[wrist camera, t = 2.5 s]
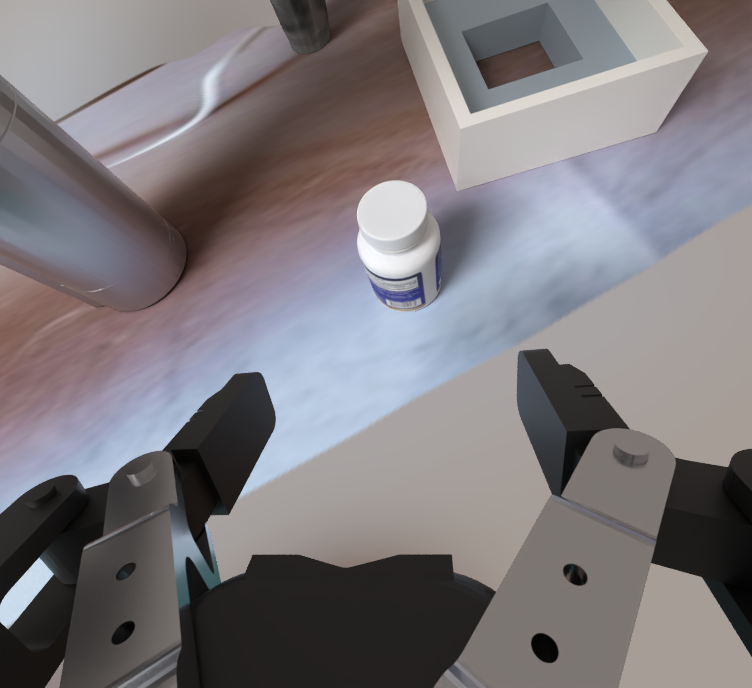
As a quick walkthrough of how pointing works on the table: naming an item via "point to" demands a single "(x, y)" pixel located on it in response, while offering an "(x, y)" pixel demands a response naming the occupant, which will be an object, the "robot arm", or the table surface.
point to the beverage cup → (304, 23)
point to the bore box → (544, 77)
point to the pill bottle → (400, 246)
